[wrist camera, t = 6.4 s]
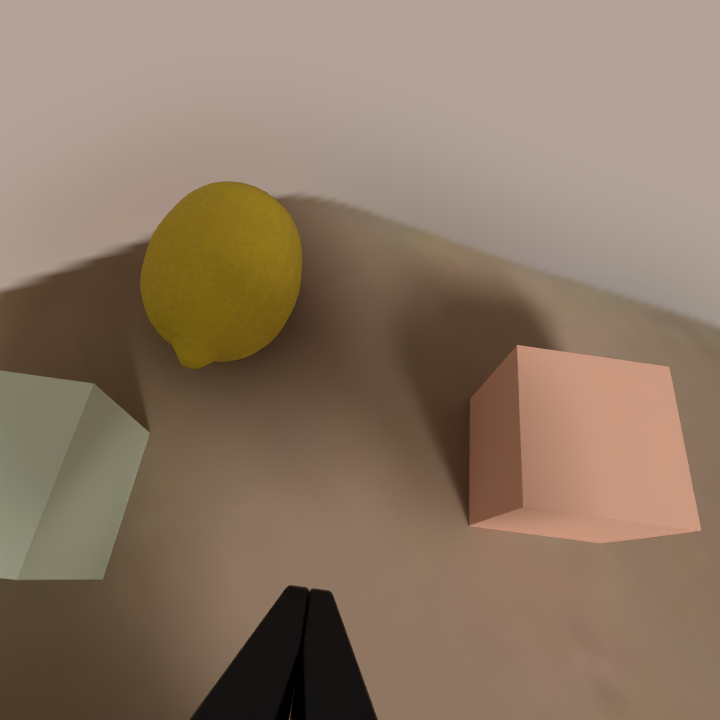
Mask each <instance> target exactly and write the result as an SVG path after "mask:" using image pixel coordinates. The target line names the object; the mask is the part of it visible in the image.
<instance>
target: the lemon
mask: <svg viewBox="0 0 720 720" xmlns="http://www.w3.org/2000/svg"><path fill="white" fill-rule="evenodd" d="M301 275H302V246H301V241H300V237H299V233H298V230H297V227H296V225H295V223H294V221H293V220H292V218H291V216H290V215H289V213H288V212H287V210H286V209H285V208H284V207H283V206H282V205H281V204H280V203H279V202H278V201H277V200H276V199H275V198H273V197H272V196H271V195H269V194H268V193H266V192H265V191H262V190H261V189H258V188H257V187H254V186H251V185H247V184H244V183H239V182H218V183H212V184H208V185H206V186H203V187H201V188H199V189H197V190H195V191H193V192H191V193H190V194H188V195H187V196H186V197H184V198H183V199H182V200H181V201H180V202H179V203H178V204H177V205H176V206H175V207H174V208H173V209H172V210H171V211H170V212H169V213H168V215H167V216H166V217H165V218H164V219H163V220H162V222H161V223H160V224H159V226H158V227H157V229H156V230H155V232H154V234H153V236H152V238H151V240H150V242H149V245H148V248H147V250H146V254H145V258H144V262H143V266H142V270H141V277H140V290H141V296H142V301H143V304H144V308H145V311H146V314H147V316H148V318H149V320H150V322H151V324H152V325H153V327H154V328H155V329H156V331H157V332H158V333H159V334H160V336H161V337H162V338H163V339H164V340H165V341H167V342H168V343H169V344H171V345H172V346H173V348H174V351H175V353H176V355H177V357H178V359H179V362H180V363H181V364H182V365H183V366H185V367H188V368H191V369H199V368H201V367H204V366H206V365H208V364H210V363H212V362H214V361H218V362H227V361H234V360H238V359H242V358H245V357H248V356H250V355H252V354H254V353H256V352H257V351H259V350H261V349H262V348H264V347H265V346H266V345H268V344H269V343H270V342H271V341H273V339H274V338H275V337H276V336H277V335H278V334H279V332H280V331H281V330H282V328H283V327H284V325H285V323H286V321H287V320H288V318H289V316H290V314H291V313H292V310H293V308H294V306H295V303H296V301H297V298H298V294H299V290H300V284H301Z"/></svg>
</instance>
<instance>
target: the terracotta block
mask: <svg viewBox="0 0 720 720" xmlns="http://www.w3.org/2000/svg"><path fill="white" fill-rule="evenodd" d="M469 526H474V527H482V528H489V529H497V530H504V531H512V532H520V533H527V534H535V535H542V536H550V537H557V538H565V539H573V540H580V541H588V542H595V543H608V542H616V541H624V540H632V539H640V538H648V537H656V536H664V535H672V534H680V533H688V532H696V531H701V527H700V522H699V517H698V512H697V507H696V502H695V496H694V491H693V486H692V481H691V476H690V471H689V466H688V461H687V456H686V450H685V445H684V440H683V435H682V430H681V425H680V420H679V415H678V409H677V404H676V399H675V394H674V389H673V384H672V379H671V374H670V369H669V367H666V366H659V365H652V364H645V363H638V362H631V361H624V360H617V359H610V358H603V357H597V356H590V355H583V354H576V353H569V352H562V351H555V350H548V349H541V348H534V347H527V346H521V345H517V346H516V347H515V348H514V349H513V350H512V351H511V353H510V354H509V355H508V356H507V357H506V358H505V359H504V361H503V362H502V363H501V364H500V365H499V366H498V368H497V369H496V370H495V371H494V372H493V373H492V374H491V376H490V377H489V378H488V379H487V380H486V381H485V383H484V384H483V385H482V386H481V387H480V388H479V389H478V391H477V392H476V393H475V394H474V395H473V396H472V398H471V399H470V463H469Z"/></svg>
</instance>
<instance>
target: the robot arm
mask: <svg viewBox="0 0 720 720" xmlns="http://www.w3.org/2000/svg"><path fill="white" fill-rule="evenodd" d="M308 596H309V597H308ZM294 686H295V687H294ZM293 692H294V693H293ZM292 699H293V700H292ZM291 705H292V706H291ZM290 711H291V714H290ZM289 716H290V720H378V719H377V716H376V713H375V711H374V708H373V705H372V702H371V699H370V697H369V694H368V691H367V688H366V686H365V683H364V680H363V677H362V674H361V672H360V669H359V666H358V663H357V661H356V658H355V655H354V652H353V649H352V647H351V644H350V641H349V638H348V636H347V633H346V630H345V627H344V624H343V622H342V619H341V616H340V613H339V611H338V608H337V605H336V602H335V599H334V597H333V594H332V593H331V592H330V591H328V590H321V589H314V588H313V589H311V590H310V592H309V589H308V588H306V587H300V586H293V585H290V586H288V587H287V588H286V589H285V590H284V591H283V593H282V594H281V595H280V597H279V598H278V600H277V601H276V602H275V604H274V605H273V606H272V608H271V609H270V610H269V612H268V613H267V615H266V616H265V617H264V619H263V620H262V621H261V623H260V624H259V625H258V627H257V628H256V630H255V631H254V632H253V634H252V635H251V636H250V638H249V639H248V641H247V642H246V643H245V645H244V646H243V647H242V649H241V650H240V651H239V653H238V654H237V656H236V657H235V658H234V660H233V661H232V662H231V664H230V665H229V666H228V668H227V669H226V671H225V672H224V673H223V675H222V676H221V677H220V679H219V680H218V682H217V683H216V684H215V686H214V687H213V688H212V690H211V691H210V692H209V694H208V695H207V697H206V698H205V699H204V701H203V702H202V703H201V705H200V706H199V707H198V709H197V710H196V712H195V713H194V714H193V716H192V717H191V718H190V720H289Z"/></svg>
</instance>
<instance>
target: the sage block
mask: <svg viewBox="0 0 720 720" xmlns="http://www.w3.org/2000/svg"><path fill="white" fill-rule="evenodd" d="M149 435H150V433H149V432H148V431H147V430H146V429H145V428H144V427H143V426H141V425H140V424H139V423H138V422H137V421H136V420H135V419H134V418H132V417H131V416H130V415H129V414H128V413H127V412H126V411H125V410H123V409H122V408H121V407H120V406H119V405H118V404H117V403H115V402H114V401H113V400H112V399H111V398H110V397H109V396H108V395H106V394H105V393H104V392H103V391H102V390H101V389H100V388H99V387H97V386H96V385H95V384H94V383H87V382H80V381H73V380H66V379H58V378H51V377H44V376H37V375H29V374H22V373H15V372H8V371H0V578H5V579H13V580H103V578H104V575H105V572H106V568H107V565H108V562H109V559H110V556H111V553H112V550H113V547H114V544H115V540H116V537H117V534H118V531H119V528H120V525H121V522H122V519H123V516H124V512H125V509H126V506H127V503H128V500H129V497H130V494H131V491H132V488H133V484H134V481H135V478H136V475H137V472H138V469H139V466H140V463H141V460H142V456H143V453H144V450H145V447H146V444H147V441H148V438H149Z"/></svg>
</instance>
